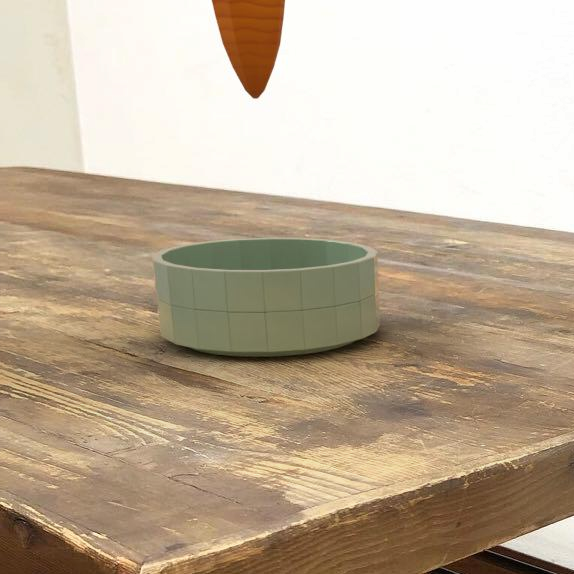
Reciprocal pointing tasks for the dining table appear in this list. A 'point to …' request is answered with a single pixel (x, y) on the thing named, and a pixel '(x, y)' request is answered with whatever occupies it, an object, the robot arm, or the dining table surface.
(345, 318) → the bowl
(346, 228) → the dining table surface
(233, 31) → the carrot
